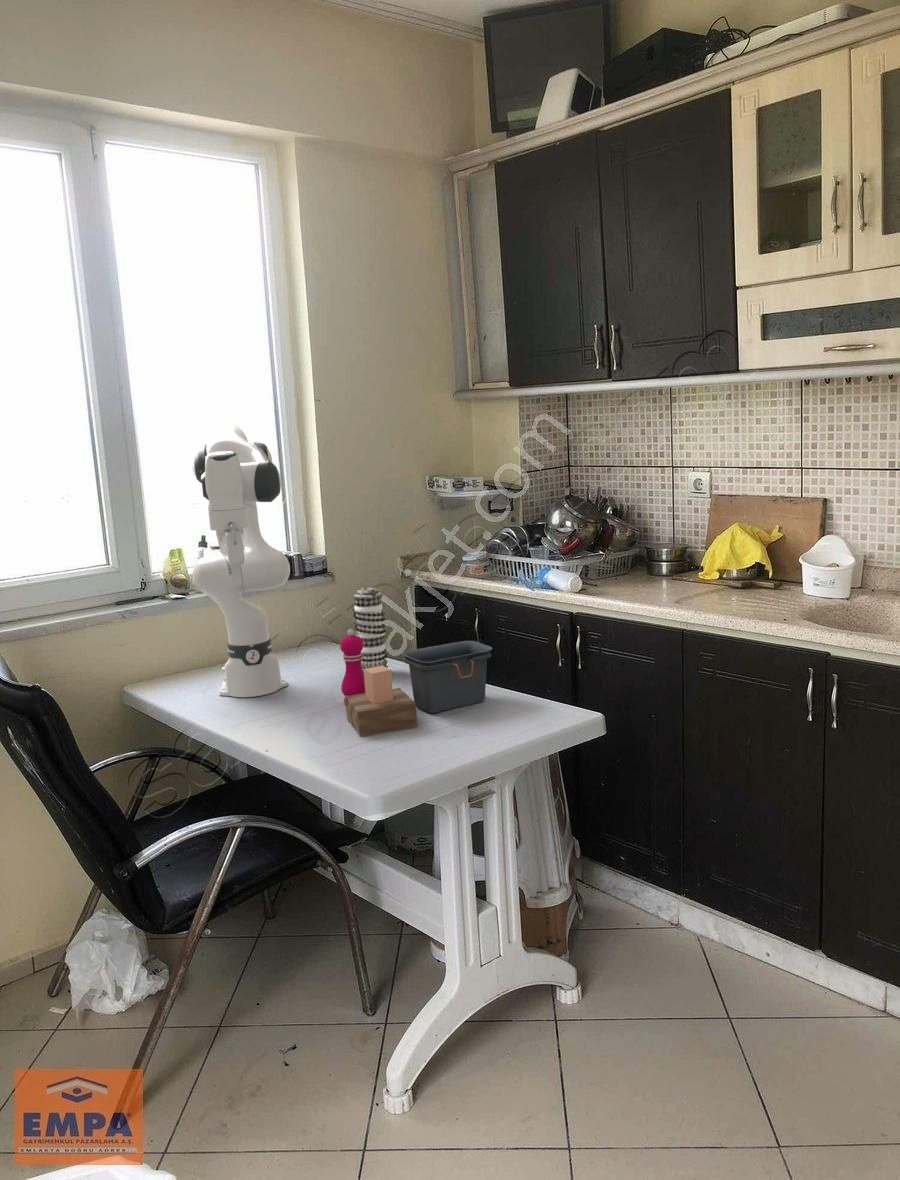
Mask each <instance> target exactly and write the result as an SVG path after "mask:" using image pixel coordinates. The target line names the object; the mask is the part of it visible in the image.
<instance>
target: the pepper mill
mask: <svg viewBox="0 0 900 1180" xmlns="http://www.w3.org/2000/svg"><path fill="white" fill-rule="evenodd" d="M339 642H340V643H339V646H340V647H339V648H340V651H341V652H342V653H343V654H342V657H343V658H342V659H343V661H344V662H345V663H344V664H345V673H344V676H343V679H342V682H341V686H340V688H341V693H342V694H343V695H344V699H343V700H344V703H343V704H344V707H346V701H345V696H350V695H356V694H363V693H365V682H364V672H363V670H362V666H361V659H362V658H363V657H362V653H361V651H362V649H363V647H364V644H363V640H362V639H361V638H360V637H359V636H357V635H355V631H354V629H351V628H350V629H348V630H347V635H345V636H344V637H343V638H342V639H341V640H340V641H339Z"/></svg>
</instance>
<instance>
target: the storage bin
mask: <svg viewBox="0 0 900 1180" xmlns="http://www.w3.org/2000/svg"><path fill="white" fill-rule="evenodd" d="M492 650H493V647H492V646H489V645H486V644H484V643H481V642H478V641H476V640H464V641H456V642H451V643H445V644H439V645H434V646H427V647H423V648H422V647H421V648H417V649H411V650H406V651H404V652H402V656H404V659H403V661H404V664H407V665H408V667H409V674H410V676H409V677H410V681H411V688H412V696H413V701H414V702H415V703H416V708H418V709H420V710H422V711H425V712H426V713H429V714H435V713H439V712H444V711H448V710H452V709H456V708H461V707H465V706H466V707H467V706H470V705H475V704H479V703H483V702H485V700H486V687H487V685H486V684H487V669H488V668H487V665H488V663H487V662H488V659H489V658H491V657H492V653H491V651H492Z"/></svg>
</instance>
